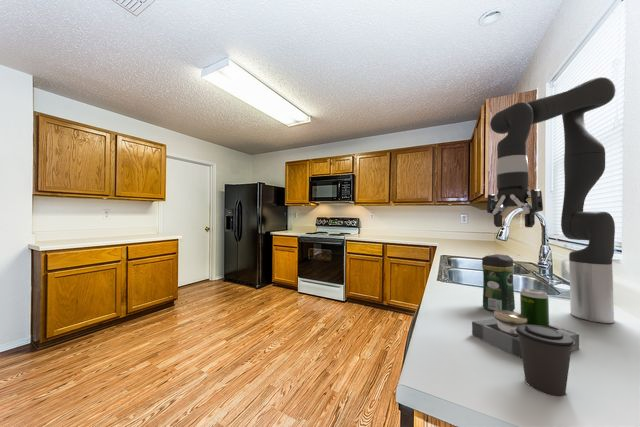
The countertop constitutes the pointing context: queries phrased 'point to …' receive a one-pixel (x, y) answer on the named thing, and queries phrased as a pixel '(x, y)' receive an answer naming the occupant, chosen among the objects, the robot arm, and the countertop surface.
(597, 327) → the countertop surface
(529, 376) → the coffee cup
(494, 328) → the grey rectangular frame
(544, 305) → the green metal cylinder
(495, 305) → the coffee jar
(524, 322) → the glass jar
